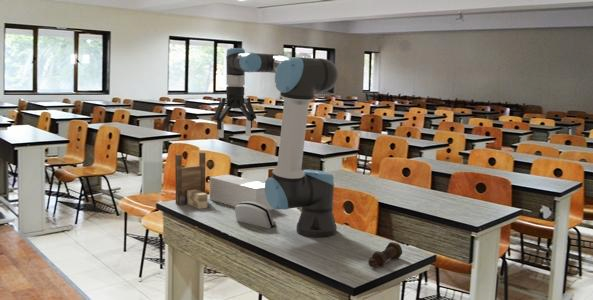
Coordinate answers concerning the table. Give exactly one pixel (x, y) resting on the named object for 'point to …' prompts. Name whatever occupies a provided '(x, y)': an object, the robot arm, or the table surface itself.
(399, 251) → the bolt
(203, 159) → the wooden cleated plank
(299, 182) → the robot arm
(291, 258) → the table surface
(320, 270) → the table surface
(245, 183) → the white ribbed block
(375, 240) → the table surface
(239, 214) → the white rounded block
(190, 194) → the tan wooden block
